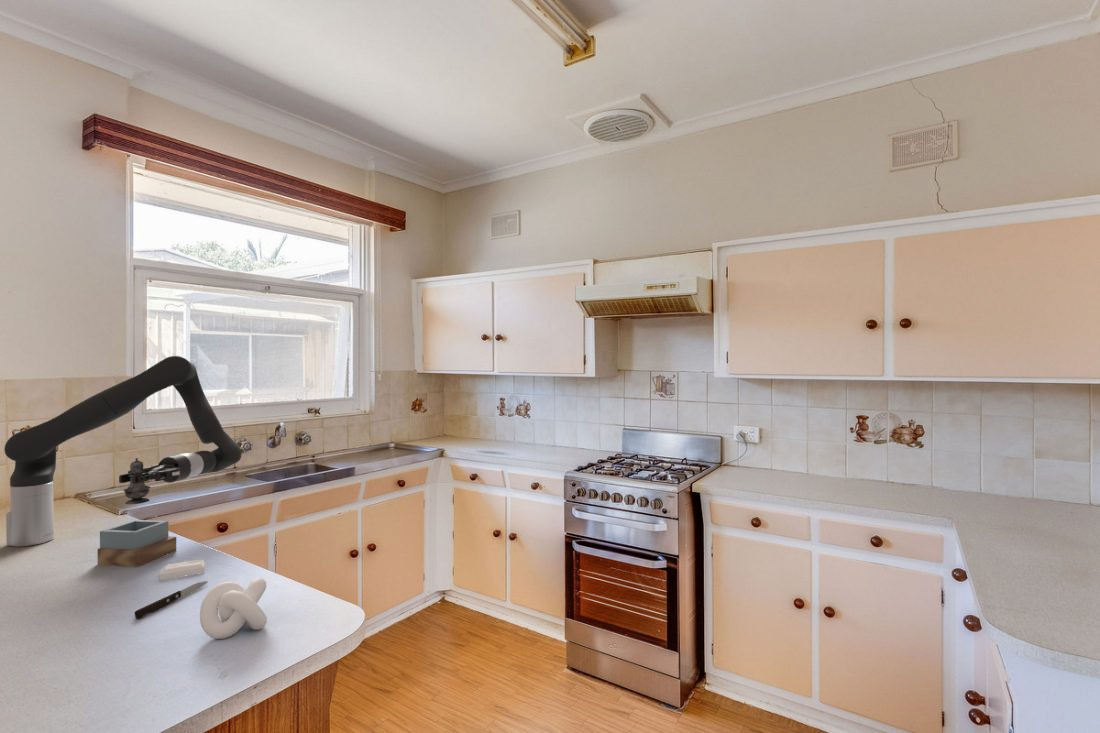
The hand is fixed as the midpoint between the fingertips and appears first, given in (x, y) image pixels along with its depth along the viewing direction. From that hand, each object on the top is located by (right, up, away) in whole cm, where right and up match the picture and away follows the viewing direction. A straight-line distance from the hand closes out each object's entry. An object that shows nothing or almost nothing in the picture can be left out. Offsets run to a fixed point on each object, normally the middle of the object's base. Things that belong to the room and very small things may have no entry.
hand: (127, 479), depth 144 cm
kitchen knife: (+30, -22, -25) cm, 44 cm away
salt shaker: (0, -7, +3) cm, 7 cm away
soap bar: (+21, -22, -9) cm, 32 cm away
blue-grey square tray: (0, -18, +2) cm, 18 cm away
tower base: (+1, -22, +2) cm, 22 cm away
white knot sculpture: (+51, -22, -37) cm, 67 cm away
